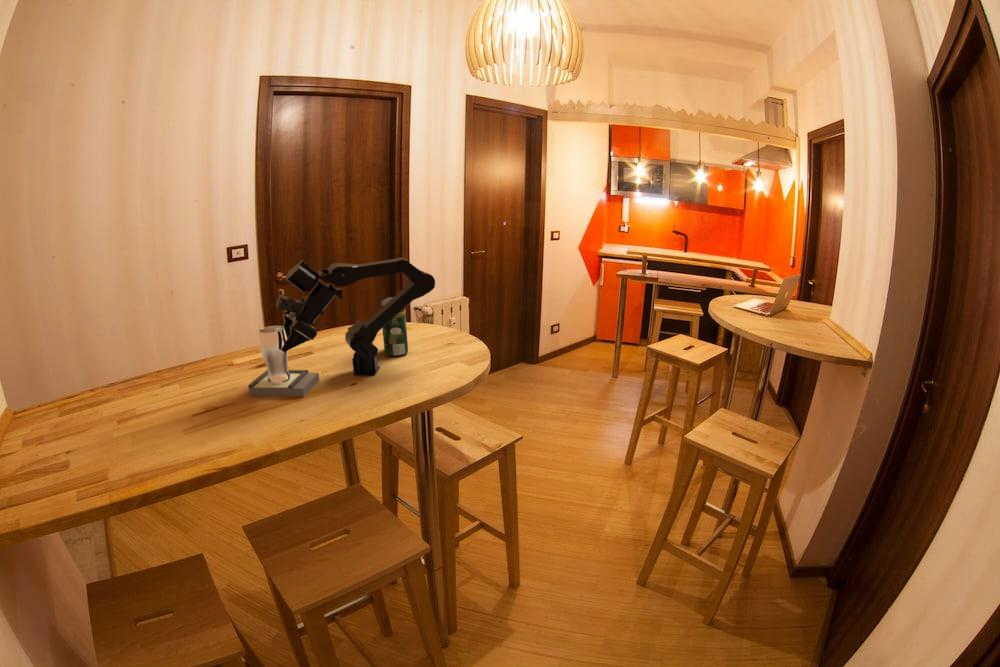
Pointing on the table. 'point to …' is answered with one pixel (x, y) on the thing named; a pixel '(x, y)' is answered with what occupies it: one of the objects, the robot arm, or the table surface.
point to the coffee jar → (395, 333)
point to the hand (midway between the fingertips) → (280, 346)
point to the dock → (284, 385)
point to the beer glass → (274, 354)
